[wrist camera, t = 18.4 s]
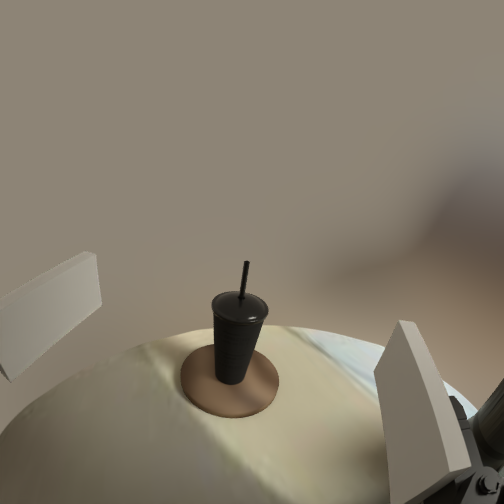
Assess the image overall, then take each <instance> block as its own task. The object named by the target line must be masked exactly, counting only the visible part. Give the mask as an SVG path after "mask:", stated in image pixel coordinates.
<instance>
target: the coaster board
mask: <svg viewBox="0 0 504 504" xmlns="http://www.w3.org/2000/svg"><path fill="white" fill-rule="evenodd" d="M181 385H182V388H183V391H184V393H185V394H186V396H187V397H188V399H189V400H190V401H191V402H192V403H193V404H194V405H196V406H197V407H198V408H200V409H202V410H203V411H205V412H207V413H210V414H212V415H215V416H219V417H225V418H243V417H248V416H252V415H254V414H257V413H259V412H261V411H263V410H264V409H265V408H267V407H268V406H269V405H270V404H271V403H272V401H273V400H274V398H275V396H276V393H277V390H278V386H279V376H278V373H277V370H276V368H275V367H274V365H273V364H272V363H271V362H270V360H268V359H267V358H266V357H265V356H264V355H262V354H261V353H259V352H257V351H255V350H254V351H253V354H252V357H251V360H250V363H249V366H248V369H247V372H246V375H245V378H244V380H243V381H242V382H241V383H239V384H236V385H227V384H224V383H222V382H220V381H219V380H218V379H217V378H216V376H215V359H214V344H212V345H207V346H204V347H201V348H199V349H197V350H195V351H194V352H192V353H191V354H190V355H189V356H188V357H187V358H186V359H185V361H184V363H183V365H182V368H181Z"/></svg>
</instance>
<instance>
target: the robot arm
mask: <svg viewBox="0 0 504 504" xmlns="http://www.w3.org/2000/svg"><path fill="white" fill-rule="evenodd" d="M100 306H102V300H101V293H100V286H99V278H98V271H97V260H96V254H94V253H90V252H87V251H84V252H82V253H80V254H78V255H76V256H74V257H72V258H70V259H68V260H67V261H65V262H63V263H61V264H59V265H57V266H55V267H54V268H52V269H50V270H48V271H46V272H44V273H43V274H41V275H39V276H37V277H35V278H34V279H32V280H30V281H29V282H27V283H25V284H23V285H22V286H20V287H18V288H17V289H15V290H13V291H12V292H10V293H8V294H7V295H5V296H3V297H2V298H0V371H1V373H2V374H3V375H4V376H5V377H6V378H7V379H8V380H9V381H10V382H12V381H14V380H15V379H16V378H17V377H18V376H19V375H20V374H21V373H22V372H23V371H24V370H26V369H27V368H28V367H29V366H30V365H31V364H32V363H33V362H35V361H36V360H37V359H38V358H39V357H40V356H41V355H42V354H44V353H45V352H46V351H47V350H48V349H49V348H51V347H52V346H53V345H54V344H55V343H56V342H57V341H59V340H60V339H61V338H62V337H64V336H65V335H66V334H67V333H68V332H69V331H71V330H72V329H73V328H74V327H76V326H77V325H78V324H79V323H80V322H82V321H83V320H84V319H85V318H87V317H88V316H89V315H90V314H92V313H93V312H94V311H95V310H97V309H98V308H99V307H100ZM374 376H375V381H376V386H377V391H378V397H379V403H380V409H381V415H382V421H383V428H384V435H385V443H386V452H387V461H388V472H389V485H390V504H418V503H420V502H422V501H424V504H504V477H500V476H499V474H498V473H499V472H500V470H501V469H502V468H503V466H504V379H503V380H502V381H501V383H500V384H499V385H498V387H497V388H496V390H495V391H494V392H493V393H492V395H491V396H490V397H489V399H488V400H487V401H486V402H485V404H484V405H483V406H482V407H481V408H480V410H479V411H478V412H477V413H476V414H475V415H474V416H472V417H471V418H469V419H468V420H467V416H466V414H465V411H464V409H463V406H462V405H461V404H460V402H459V401H458V400H457V399H456V398H455V396H448V394H447V391H446V389H445V386H444V384H443V381H442V379H441V377H440V374H439V372H438V370H437V368H436V366H435V363H434V361H433V359H432V357H431V355H430V352H429V351H428V348H427V346H426V344H425V342H424V340H423V338H422V336H421V334H420V332H419V330H418V328H417V326H416V324H415V322H409V321H402V320H398V322H397V325H396V327H395V329H394V331H393V333H392V336H391V338H390V340H389V342H388V344H387V346H386V348H385V350H384V352H383V354H382V356H381V358H380V360H379V362H378V364H377V366H376V368H375V370H374Z"/></svg>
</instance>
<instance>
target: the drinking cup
mask: <svg viewBox="0 0 504 504" xmlns="http://www.w3.org/2000/svg"><path fill="white" fill-rule="evenodd" d="M249 263H250V262H249V261H244V266H243V273H242V280H241V287H240V292H237V291H232V292H224V293H221V294H219V295H217V296H216V297H215V298H214V299H213V300H212V310H213V312H214V313H213V314H214V359H215V376H216V378H217V379H218V380H219V381H220V382H222V383H224V384H227V385H236V384H239V383H241V382H242V381H243V380H244V378H245V375H246V372H247V369H248V366H249V363H250V360H251V357H252V354H253V351H254V348H255V345H256V342H257V340H258V337H259V333H260V330H261V327H262V324H263V321H264V319H265V318H266V317H267V315H268V306H267V304H266V303H265V302H264V301H263V300H262V299H260V298H259V297H257V296H255V295H252V294H249V293H245V289H246V282H247V275H248V269H249Z"/></svg>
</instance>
